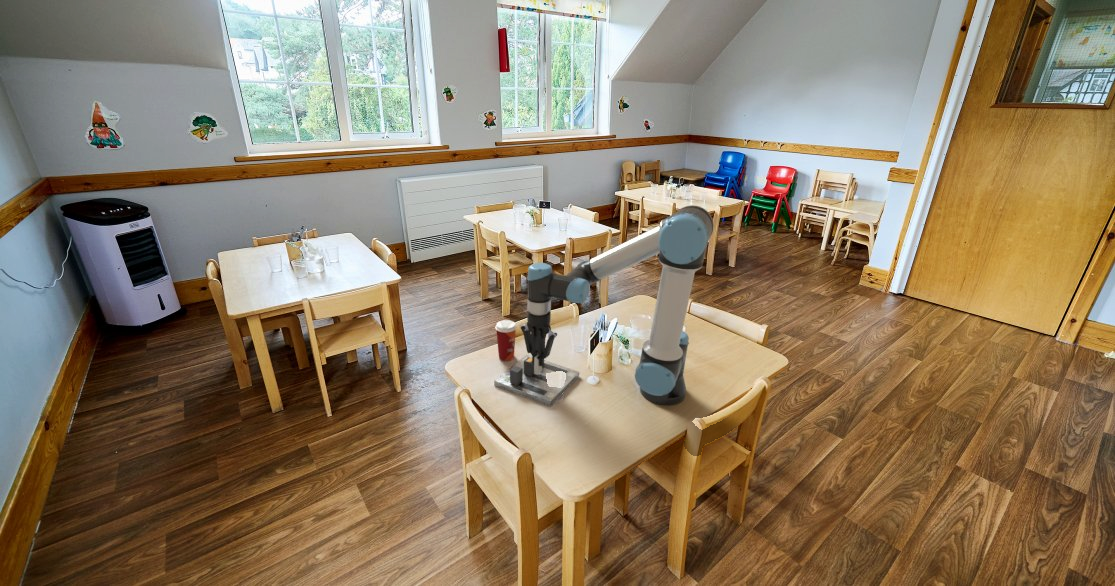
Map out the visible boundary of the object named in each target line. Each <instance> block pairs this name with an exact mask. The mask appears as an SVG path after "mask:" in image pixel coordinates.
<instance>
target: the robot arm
mask: <svg viewBox="0 0 1115 586" xmlns="http://www.w3.org/2000/svg"><path fill="white" fill-rule="evenodd" d="M714 226H715V225H714V220H713V217H712V216H711V214H710V212H709V211H708V210H706V208H704V207H702V206H698V205H686V206H683V207H681V208H680V209H678V210H677V211H676V212H674V213H673V214H671V215H669V216H667V217H666V218H664V219H662V220H660V224H659V225H657V226H656V227H653V228H652V229H649V230H647V231H645V232H642V233H640V234H639V235H637V236H635V237H633V238H630V239H629V240H627V241H625V242H622V243H620V244H618V245H617V246H614V247H613V248H611V249H608V250H606V251H605V252H603V253H600V254H598V255H596V256H594V257H592V258H591V259H588V260H587V259H586V260H583V261H581V262H580V263H578V264H577V265H576V266H575V268H573V269H572V270H570V271H569V272H568V273H567V274H566V275H565V274H558V273H555V272H553V268H552V265H550V264H548V263H545V262H534V263H532V264H531V265H529V267H528V268H527V278H526V280H527V305H526V306H527V309H526V310H527V311H526V312H527V314H526V315H527V316H526V317H527V322H526V323H524V324H523V325H521V326H520V330H521V332H522V333H523V339H524V342H525V348H526V351H527V354H531V356H532V363H533V364H534V374H536V375H538V374H539V373H540V372H542V365H544V360H545V359H547V358H548V357H549V356H550V355H551V351H552V349H553V344H554V341H555V338H556V337H557V336H558V333H557V332H554V331H553V330H552V328H551V315H552V314H551V309H552V298H553V299H558V300H561V301H567V302H570V303H573V304H574V303H576V304H584V303H585V302H586V301H587V300H588V299H587V298H588V297H589V293H590V291H591V290H590V288H591V287H590V286H591V285H593V284H596V283H598V282H600V281H602V280H603V279H606V278H608V277H610V276H612V275H615V274H616V273H619V272H622V271H623V270H625V269H628V268H631V267H633V266H635V265H637V264H639V263H642V262H643V261H646V260H648V259H650V258H652V257H654V256H657V255H658V258H657V259H658V262H659V264H661V266H662V269H661V274H660V278H659V279H660V280H659V285H658V291H657V297H656V301H655V307H654V310H653V311H654V313H653V318H652V322H651V328H650V329H651V330H650V334H649V339H647V340H645V341H644V342H643V344H642V349H641V355H640V359H639V363H638V365H637V366H636V368H635V373H634V379H635V382H636V384H637V386H639V392H640V393H641V395H642V397H644V398H645V399H646V400H648V401H650V402H652V403H654V404H658V405H661V406H662V405H663V406H673V405H677V404H680V403H682V402H684V400H685V399H686V395H687V394H686V393H687V388H686V382H685V377H684V376H685V375H684V372H685V364H686V361H687V353H688V347H689V344H690V343H689V339H690V338H689V335H688V333H687V332H685V331H684V330H683V328H684V325H685V324H684V323H685V320H686V315H687V311H688V305H689V302H690V296H691V293H692V287H693V283H694V278H695V273H696V272H697V271H699V270H700V269H702V267H703V265H704V259H705V257H706V252H707V246H708V243H709V240H710V238H711V237H712V235H713V232H714ZM546 338H547V340H546Z"/></svg>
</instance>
